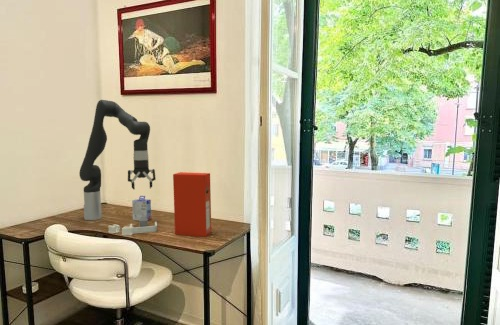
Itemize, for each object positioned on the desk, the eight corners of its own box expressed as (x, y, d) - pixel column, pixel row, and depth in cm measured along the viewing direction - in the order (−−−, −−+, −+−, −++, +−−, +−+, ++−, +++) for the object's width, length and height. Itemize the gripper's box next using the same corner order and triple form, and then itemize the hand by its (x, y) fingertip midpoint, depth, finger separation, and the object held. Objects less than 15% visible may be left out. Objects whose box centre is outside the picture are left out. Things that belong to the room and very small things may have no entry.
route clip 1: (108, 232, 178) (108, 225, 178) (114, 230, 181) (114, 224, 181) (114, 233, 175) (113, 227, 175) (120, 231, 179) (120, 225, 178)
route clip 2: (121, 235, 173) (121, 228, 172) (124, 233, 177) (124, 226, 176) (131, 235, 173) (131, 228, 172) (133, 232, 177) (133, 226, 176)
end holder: (129, 233, 175) (129, 228, 175) (130, 229, 183) (130, 223, 183) (157, 231, 179) (157, 226, 179) (156, 226, 188) (156, 221, 187)
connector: (139, 232, 178) (139, 221, 178) (140, 226, 189) (139, 216, 188) (147, 231, 179) (147, 220, 179) (147, 225, 190) (147, 215, 189)
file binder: (205, 237, 169) (204, 175, 166) (174, 234, 173) (173, 174, 170) (211, 232, 177) (210, 173, 173) (181, 230, 181) (180, 172, 178)
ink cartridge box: (151, 218, 205) (151, 195, 204) (147, 221, 200) (146, 197, 198) (137, 218, 207) (136, 195, 206) (132, 220, 202) (131, 196, 200)
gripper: (154, 158, 184) (155, 186, 185) (127, 158, 179) (128, 188, 181) (155, 159, 176) (156, 189, 178) (126, 160, 172) (127, 190, 174)
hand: (142, 188), depth 180 cm, fingers open, 8 cm apart
